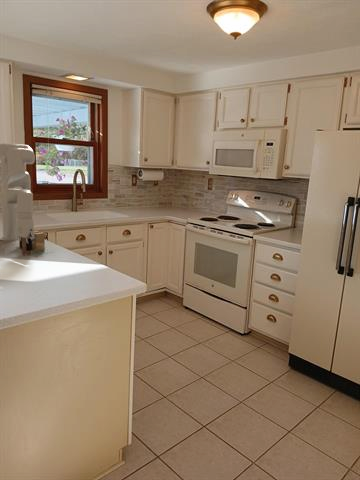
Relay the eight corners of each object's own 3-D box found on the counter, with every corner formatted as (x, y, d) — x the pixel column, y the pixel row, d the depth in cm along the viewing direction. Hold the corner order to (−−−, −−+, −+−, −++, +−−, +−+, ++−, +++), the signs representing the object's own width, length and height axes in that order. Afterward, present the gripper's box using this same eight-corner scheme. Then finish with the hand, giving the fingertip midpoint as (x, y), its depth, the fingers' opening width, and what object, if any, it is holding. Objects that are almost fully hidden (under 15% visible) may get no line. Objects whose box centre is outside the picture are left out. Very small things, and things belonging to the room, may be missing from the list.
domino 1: (27, 256, 192) (26, 237, 190) (21, 254, 195) (21, 236, 193) (30, 255, 194) (30, 237, 192) (25, 254, 197) (24, 235, 195)
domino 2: (29, 249, 204) (28, 232, 202) (37, 248, 208) (37, 231, 206) (31, 250, 203) (30, 232, 201) (39, 249, 207) (39, 231, 205)
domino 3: (34, 251, 201) (34, 233, 199) (42, 250, 205) (42, 232, 203) (36, 252, 200) (36, 234, 198) (44, 250, 204) (44, 233, 202)
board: (15, 247, 209) (15, 246, 209) (29, 245, 216) (29, 244, 216) (40, 255, 196) (40, 254, 195) (53, 253, 202) (53, 252, 202)
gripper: (9, 213, 192) (10, 247, 196) (27, 218, 182) (28, 253, 186) (22, 212, 198) (23, 245, 202) (41, 216, 188) (41, 251, 192)
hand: (26, 249), depth 194 cm, fingers closed on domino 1, 4 cm apart
